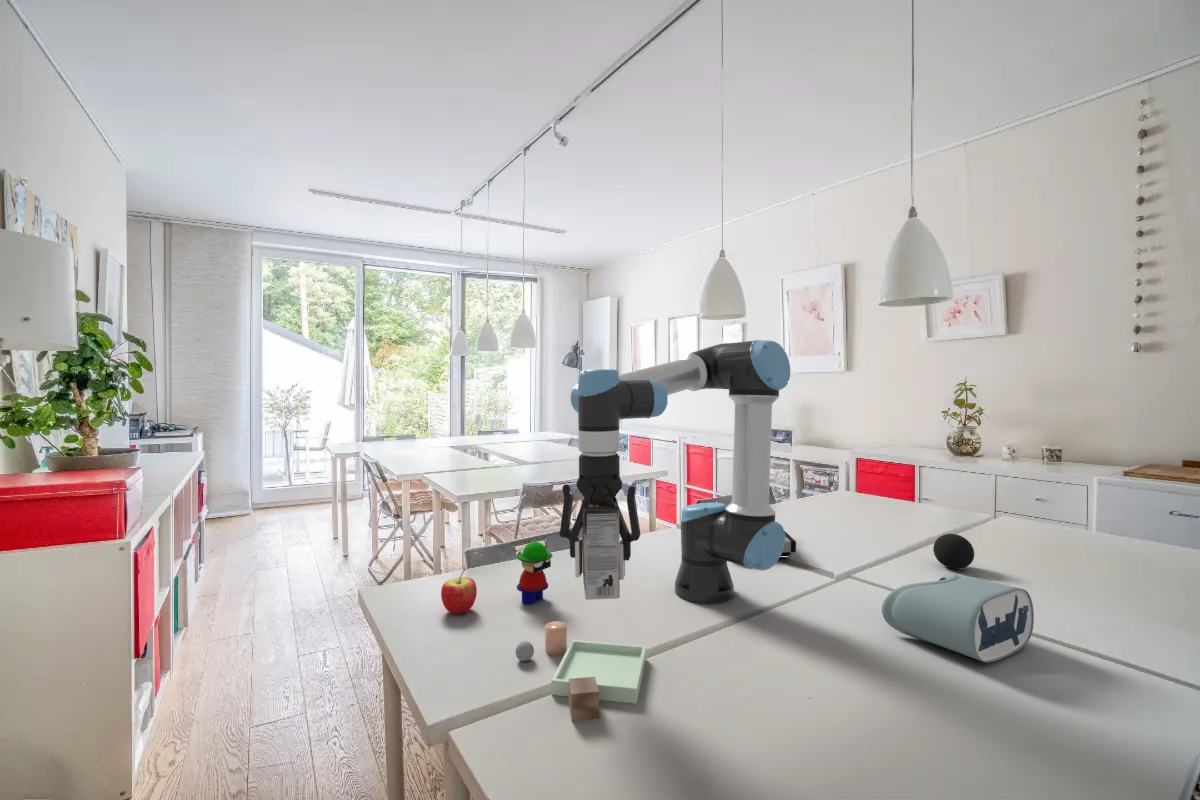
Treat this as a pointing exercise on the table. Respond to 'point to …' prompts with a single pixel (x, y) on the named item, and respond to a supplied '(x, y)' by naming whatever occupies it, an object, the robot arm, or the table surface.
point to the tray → (603, 669)
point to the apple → (459, 594)
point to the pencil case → (963, 615)
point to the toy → (533, 572)
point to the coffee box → (600, 551)
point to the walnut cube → (583, 698)
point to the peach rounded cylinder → (556, 638)
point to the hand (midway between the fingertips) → (600, 575)
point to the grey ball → (524, 651)
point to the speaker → (953, 551)
